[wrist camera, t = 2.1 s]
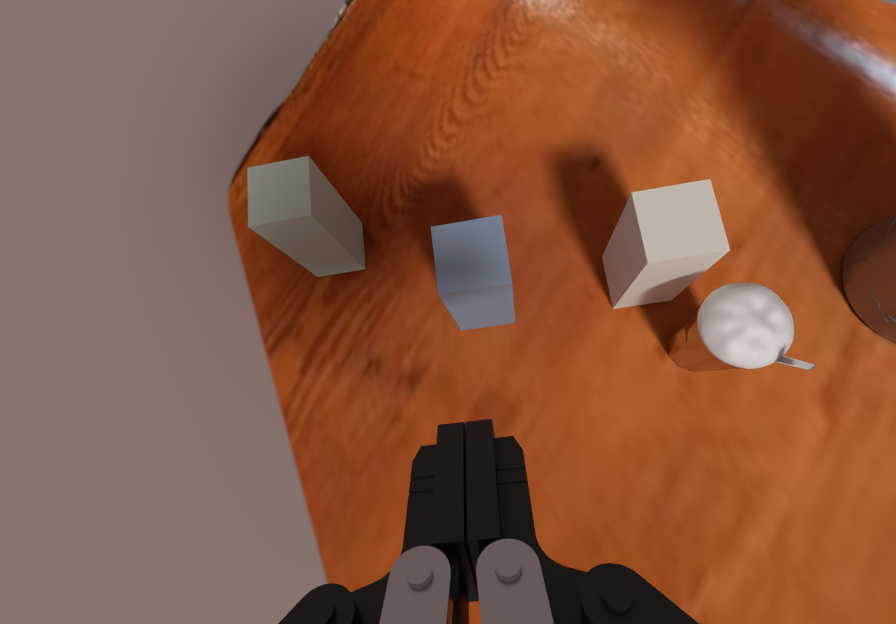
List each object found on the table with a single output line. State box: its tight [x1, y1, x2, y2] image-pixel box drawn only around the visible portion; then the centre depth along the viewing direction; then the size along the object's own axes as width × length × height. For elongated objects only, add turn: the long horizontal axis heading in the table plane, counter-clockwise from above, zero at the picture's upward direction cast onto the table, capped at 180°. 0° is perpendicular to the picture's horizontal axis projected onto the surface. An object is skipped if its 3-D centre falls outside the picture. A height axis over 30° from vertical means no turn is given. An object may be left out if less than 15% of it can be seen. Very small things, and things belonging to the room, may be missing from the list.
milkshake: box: [668, 283, 816, 372], centre depth 28 cm, size 4×5×10 cm
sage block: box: [248, 156, 365, 277], centre depth 34 cm, size 4×4×10 cm
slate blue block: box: [431, 215, 515, 330], centre depth 31 cm, size 4×4×10 cm
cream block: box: [602, 179, 730, 309], centre depth 29 cm, size 4×4×10 cm
